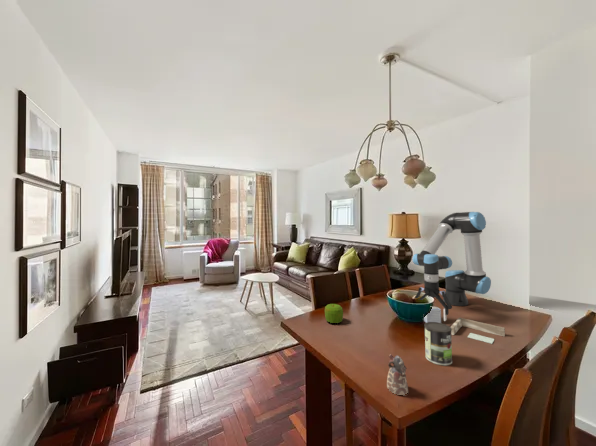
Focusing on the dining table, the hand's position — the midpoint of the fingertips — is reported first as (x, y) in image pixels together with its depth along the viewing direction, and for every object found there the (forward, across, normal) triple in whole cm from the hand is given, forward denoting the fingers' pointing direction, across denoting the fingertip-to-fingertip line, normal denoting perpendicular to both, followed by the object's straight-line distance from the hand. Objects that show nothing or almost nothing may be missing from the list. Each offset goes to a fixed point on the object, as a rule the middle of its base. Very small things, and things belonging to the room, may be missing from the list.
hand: (432, 317), depth 145 cm
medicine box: (+3, 0, 0) cm, 3 cm away
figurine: (+4, +11, -70) cm, 71 cm away
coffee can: (+4, +15, -39) cm, 42 cm away
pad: (+3, +24, -5) cm, 25 cm away
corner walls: (+3, +22, -2) cm, 22 cm away
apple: (+4, -43, -38) cm, 57 cm away
